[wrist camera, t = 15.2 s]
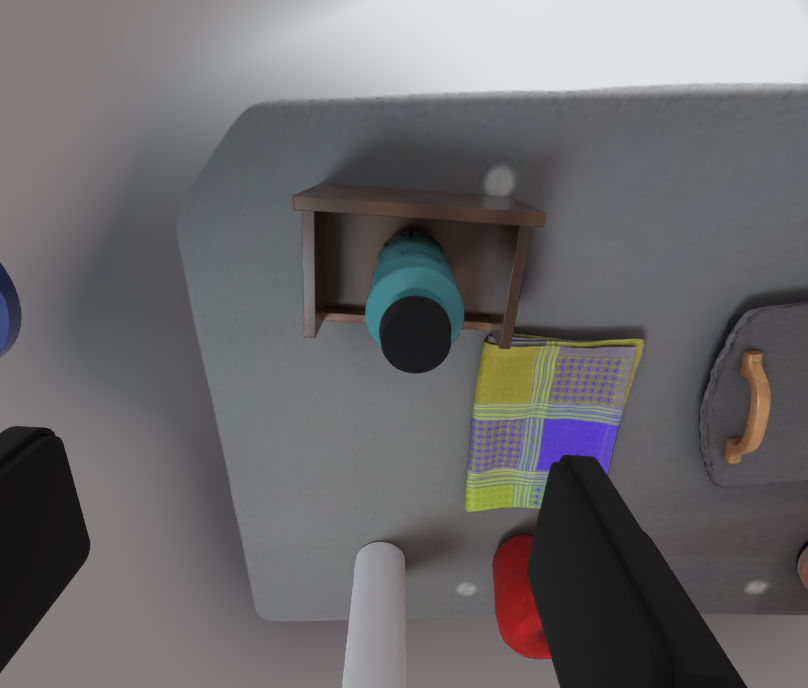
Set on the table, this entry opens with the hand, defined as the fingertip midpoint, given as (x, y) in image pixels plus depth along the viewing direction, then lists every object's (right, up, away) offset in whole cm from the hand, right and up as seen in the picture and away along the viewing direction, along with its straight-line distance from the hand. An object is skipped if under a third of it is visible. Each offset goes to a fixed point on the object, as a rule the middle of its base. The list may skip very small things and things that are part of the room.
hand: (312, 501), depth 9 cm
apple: (+18, -25, +53) cm, 61 cm away
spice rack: (+3, +12, +36) cm, 39 cm away
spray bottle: (-1, -26, +53) cm, 59 cm away
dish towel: (+18, -6, +45) cm, 49 cm away
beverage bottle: (+2, +11, +34) cm, 36 cm away
